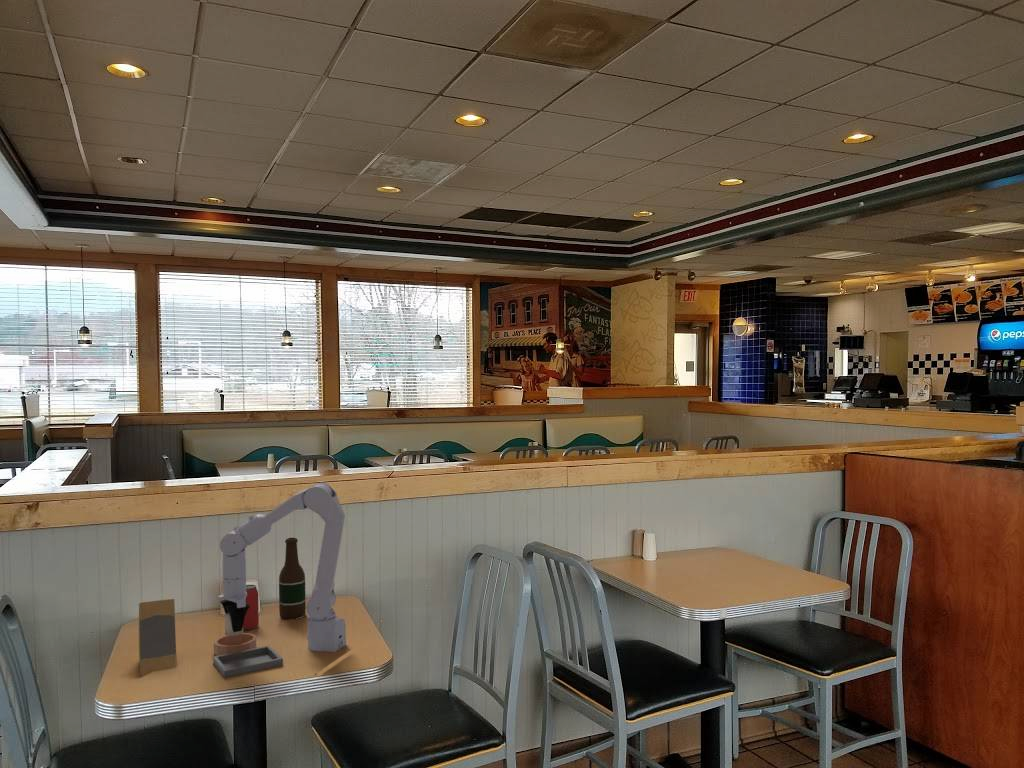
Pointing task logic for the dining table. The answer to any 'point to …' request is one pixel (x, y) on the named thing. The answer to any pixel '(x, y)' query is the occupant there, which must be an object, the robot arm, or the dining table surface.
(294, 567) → the beer bottle
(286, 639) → the dining table surface
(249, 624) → the beer can
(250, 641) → the bowl
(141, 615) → the sandwich container
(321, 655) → the dining table surface
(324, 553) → the robot arm
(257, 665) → the tray
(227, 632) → the white cylinder
